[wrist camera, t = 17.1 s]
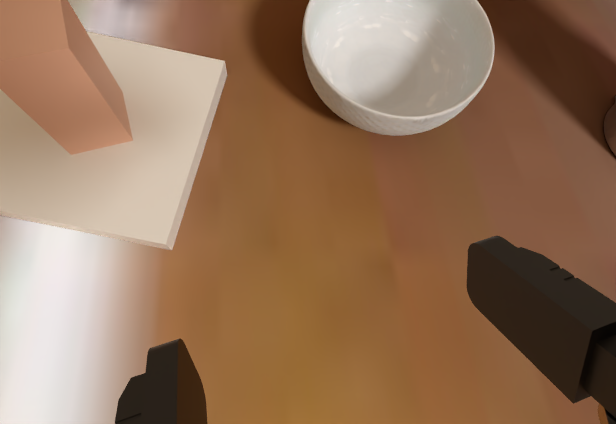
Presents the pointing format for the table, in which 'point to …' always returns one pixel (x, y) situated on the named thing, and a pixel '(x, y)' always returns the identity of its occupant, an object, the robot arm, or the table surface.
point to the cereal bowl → (397, 60)
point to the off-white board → (118, 150)
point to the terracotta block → (60, 75)
